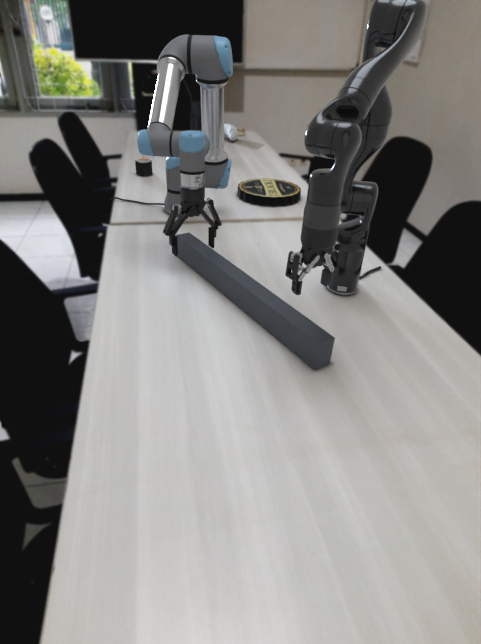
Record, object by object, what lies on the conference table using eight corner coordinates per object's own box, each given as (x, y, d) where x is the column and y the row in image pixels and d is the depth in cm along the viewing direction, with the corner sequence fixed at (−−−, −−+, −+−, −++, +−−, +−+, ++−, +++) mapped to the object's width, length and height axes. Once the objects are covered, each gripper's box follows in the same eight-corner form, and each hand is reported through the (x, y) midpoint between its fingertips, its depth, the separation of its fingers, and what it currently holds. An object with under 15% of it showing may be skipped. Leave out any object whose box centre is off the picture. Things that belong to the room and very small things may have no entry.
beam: (176, 255, 155) (176, 234, 151) (189, 252, 158) (189, 232, 153) (314, 370, 106) (318, 344, 102) (330, 363, 108) (335, 337, 104)
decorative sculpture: (250, 122, 314) (210, 121, 323) (239, 130, 298) (198, 129, 307) (250, 136, 320) (212, 134, 329) (240, 145, 304) (200, 144, 313)
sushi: (144, 171, 240) (143, 155, 236) (155, 174, 236) (154, 158, 232) (133, 174, 235) (131, 158, 230) (144, 177, 231) (143, 161, 226)
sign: (307, 198, 200) (240, 197, 198) (305, 206, 203) (239, 206, 200) (294, 178, 225) (235, 177, 222) (293, 187, 227) (235, 186, 225)
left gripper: (160, 194, 128) (163, 262, 140) (233, 184, 140) (231, 247, 152) (149, 187, 133) (153, 253, 145) (221, 178, 145) (219, 239, 157)
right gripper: (306, 234, 88) (297, 304, 97) (357, 222, 95) (344, 288, 104) (282, 221, 93) (276, 289, 102) (333, 211, 100) (322, 275, 109)
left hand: (193, 250), depth 148 cm, fingers open, 13 cm apart
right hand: (310, 289), depth 103 cm, fingers open, 8 cm apart
